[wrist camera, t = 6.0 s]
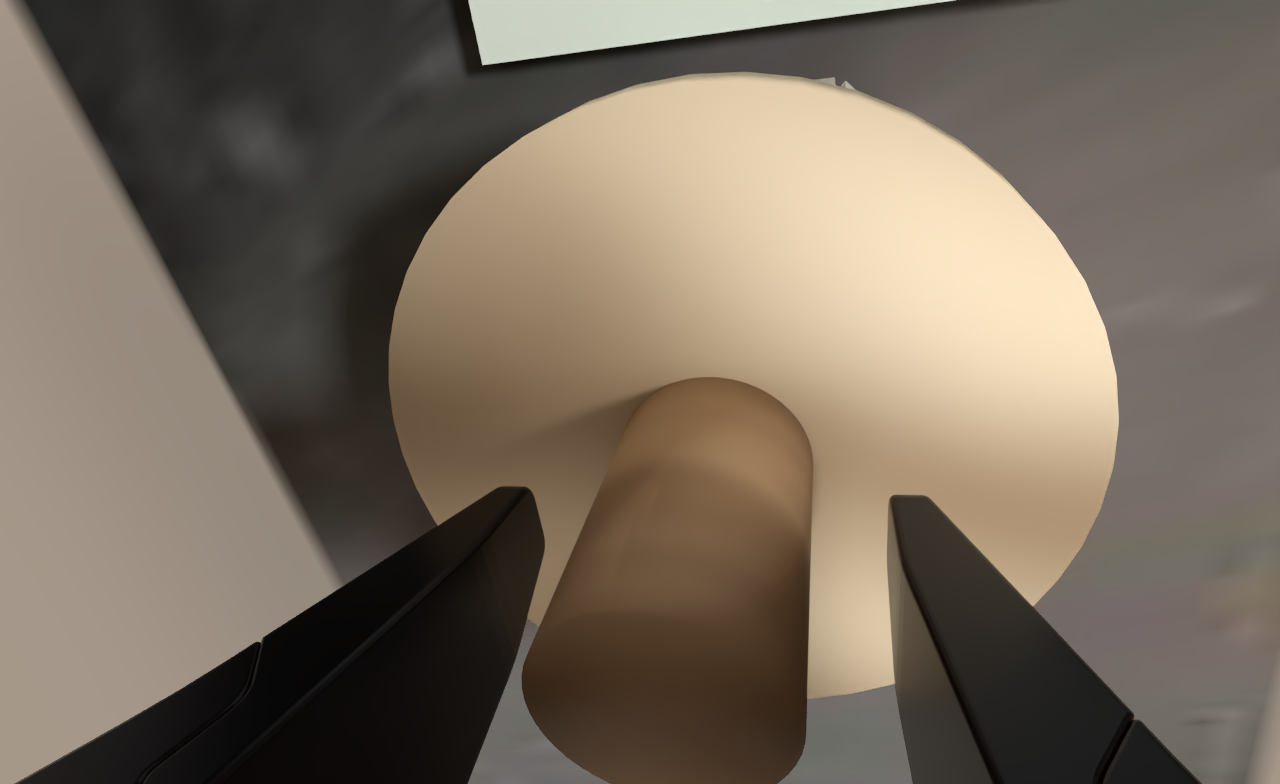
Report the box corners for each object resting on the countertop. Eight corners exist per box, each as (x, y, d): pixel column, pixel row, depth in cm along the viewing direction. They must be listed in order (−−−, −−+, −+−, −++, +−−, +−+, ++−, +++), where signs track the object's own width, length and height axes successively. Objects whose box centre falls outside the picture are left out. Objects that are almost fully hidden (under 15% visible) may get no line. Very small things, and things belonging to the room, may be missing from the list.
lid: (1044, 684, 12) (1159, 1063, 8) (493, 638, 14) (360, 908, 10) (1172, 17, 7) (1625, 83, 3) (328, 117, 10) (-37, 229, 6)
